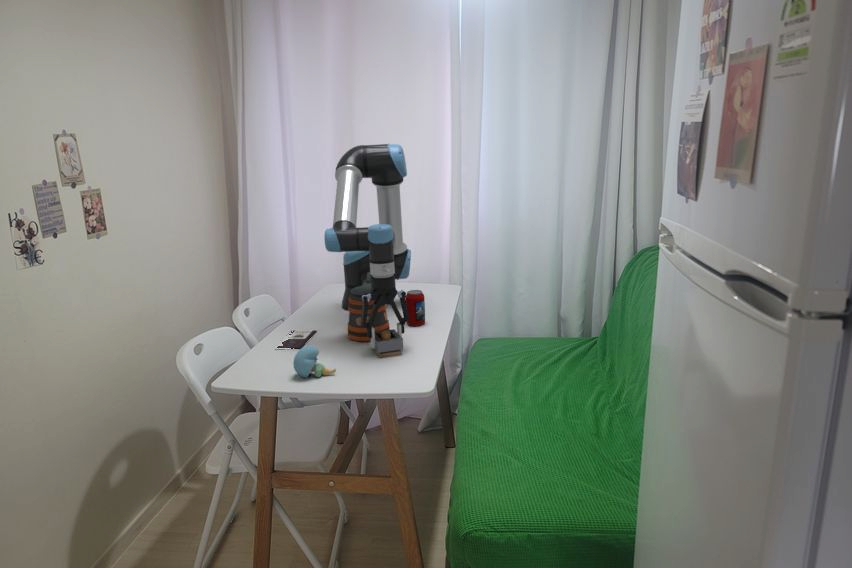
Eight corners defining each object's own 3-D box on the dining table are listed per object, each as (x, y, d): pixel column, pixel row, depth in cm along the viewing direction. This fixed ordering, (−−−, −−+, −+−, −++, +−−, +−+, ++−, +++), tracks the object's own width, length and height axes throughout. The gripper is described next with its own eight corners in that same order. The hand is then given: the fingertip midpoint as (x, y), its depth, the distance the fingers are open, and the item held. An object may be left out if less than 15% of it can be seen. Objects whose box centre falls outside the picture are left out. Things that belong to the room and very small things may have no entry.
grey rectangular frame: (370, 342, 196) (370, 332, 196) (394, 339, 199) (394, 329, 198) (378, 352, 187) (377, 342, 186) (403, 349, 190) (402, 338, 189)
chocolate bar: (273, 347, 199) (291, 330, 216) (274, 350, 199) (292, 332, 216) (300, 347, 198) (316, 330, 215) (300, 350, 198) (316, 332, 215)
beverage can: (423, 327, 216) (422, 294, 213) (404, 326, 217) (403, 294, 214) (427, 321, 222) (425, 289, 219) (409, 320, 224) (407, 289, 221)
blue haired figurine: (334, 352, 171) (291, 350, 170) (334, 381, 173) (291, 380, 173) (337, 343, 178) (296, 342, 177) (337, 372, 180) (296, 370, 180)
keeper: (372, 347, 197) (371, 329, 195) (393, 344, 199) (392, 326, 198) (380, 357, 188) (379, 338, 186) (402, 354, 190) (401, 335, 188)
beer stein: (349, 326, 220) (345, 272, 216) (390, 323, 221) (387, 270, 216) (346, 343, 202) (342, 285, 197) (390, 341, 203) (387, 282, 198)
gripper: (351, 281, 181) (356, 353, 186) (418, 274, 187) (421, 344, 193) (346, 276, 188) (351, 346, 193) (411, 269, 194) (414, 337, 200)
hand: (386, 345), depth 193 cm, fingers closed on grey rectangular frame, 8 cm apart
